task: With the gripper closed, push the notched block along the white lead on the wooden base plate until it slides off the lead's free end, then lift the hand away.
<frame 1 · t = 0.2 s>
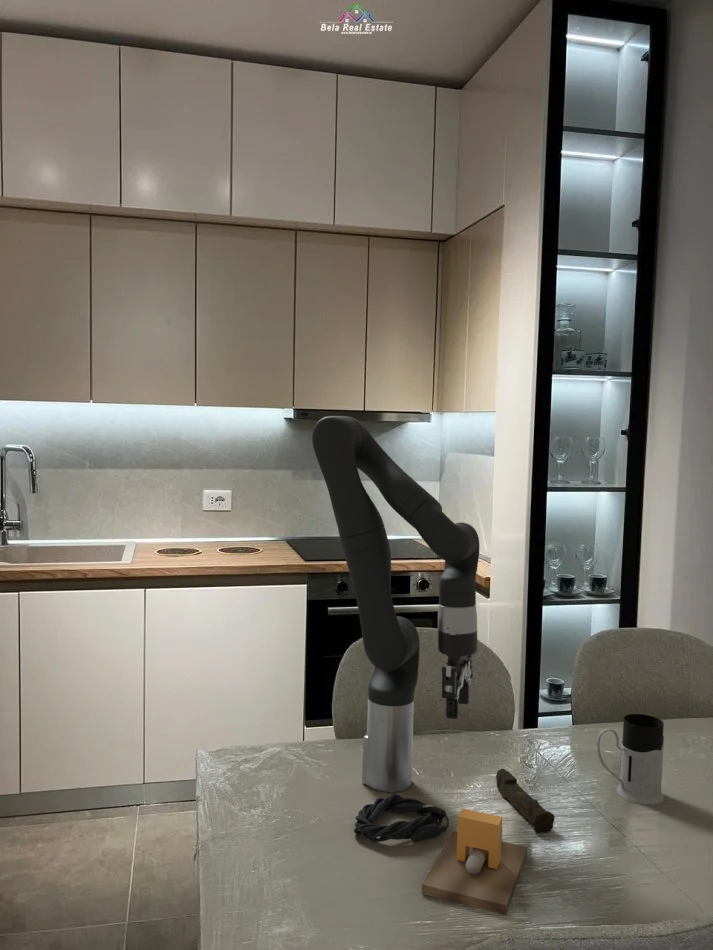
hand: (457, 710, 153), 17 cm above the table, tool pointing down, fingers open, 8 cm apart
cable: (395, 828, 143), on the table
glass holder: (627, 796, 157), on the table
wooden base plate: (476, 873, 128), on the table
notched block: (479, 838, 129), point 5 cm above the table, slide at 0.0 cm
dark brown tapered rod: (517, 811, 150), on the table
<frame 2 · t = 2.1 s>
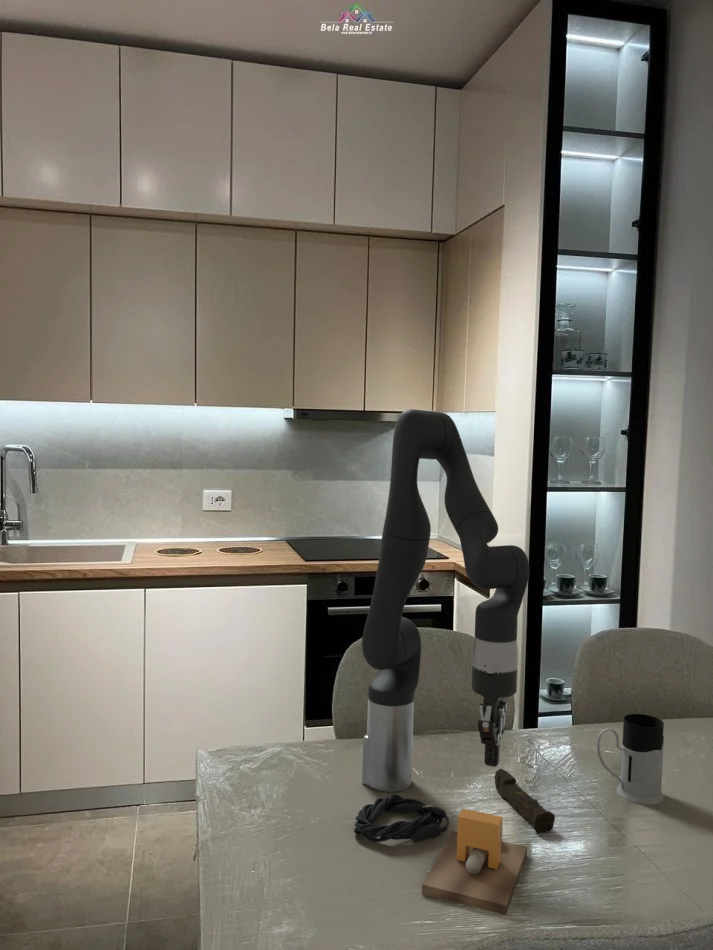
hand: (491, 764, 134), 15 cm above the table, tool pointing down, fingers closed
nothing on the table moved.
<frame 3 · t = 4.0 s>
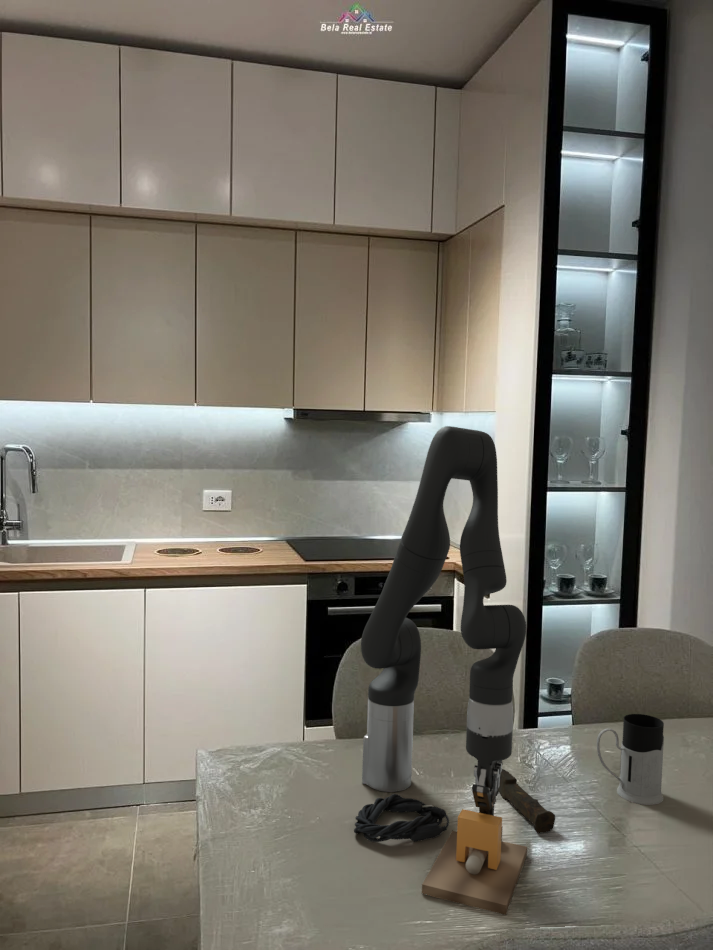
hand: (485, 826, 132), 6 cm above the table, tool pointing down, fingers closed
notched block: (479, 838, 128), point 5 cm above the table, slide at 0.2 cm, touching gripper
everything else where it was.
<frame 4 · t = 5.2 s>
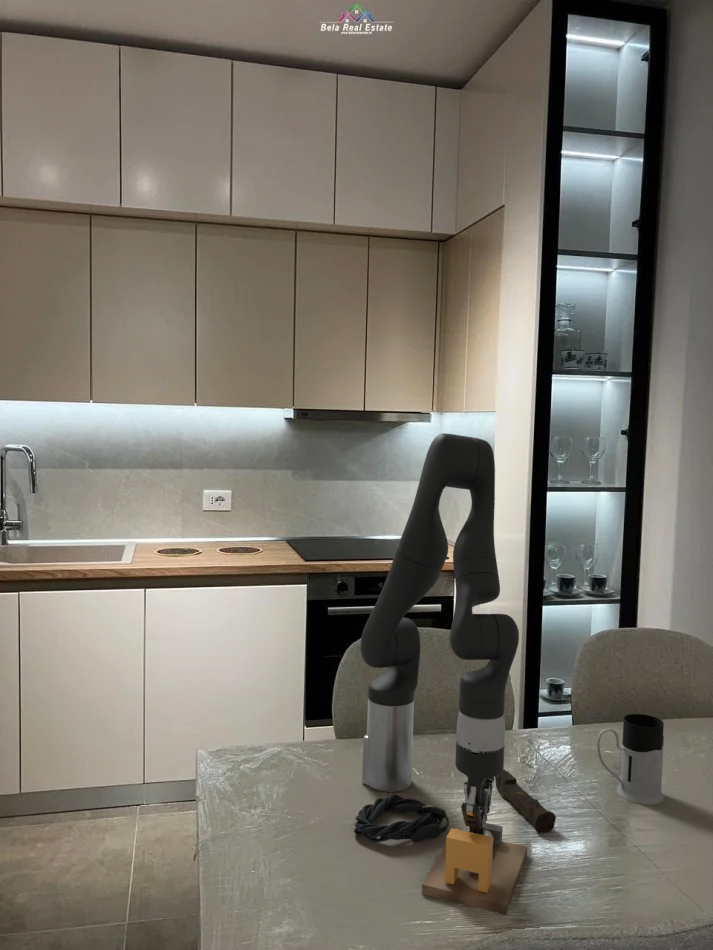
hand: (476, 846, 126), 6 cm above the table, tool pointing down, fingers closed
notched block: (469, 859, 122), point 5 cm above the table, slide at 7.1 cm, touching gripper
everything else where it was.
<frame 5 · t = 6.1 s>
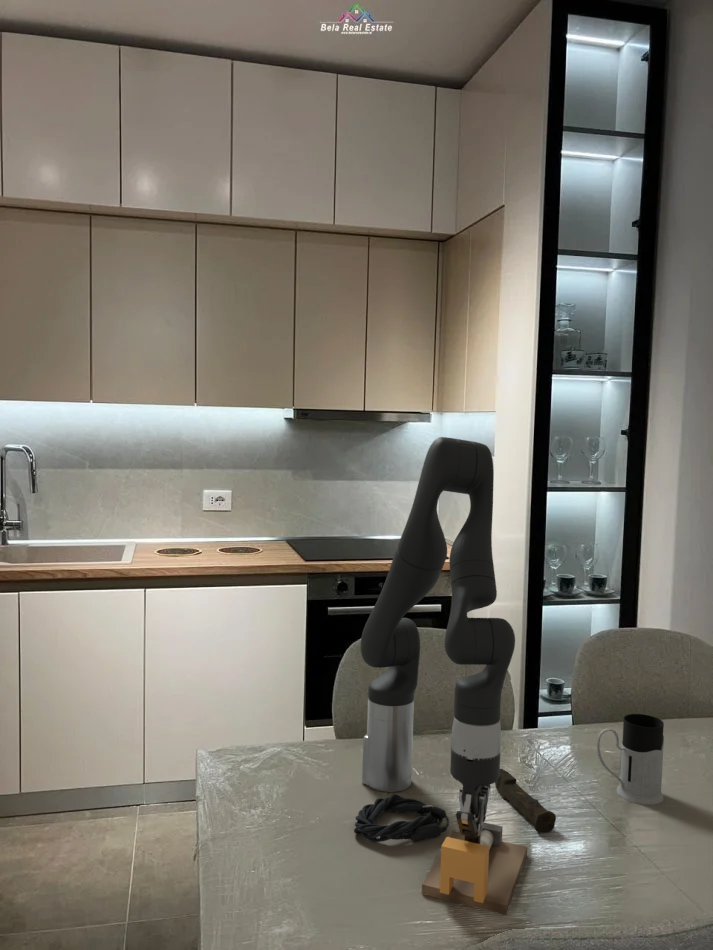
hand: (471, 855, 123), 6 cm above the table, tool pointing down, fingers closed
notched block: (464, 869, 119), point 5 cm above the table, slide at 9.9 cm, touching gripper
everything else where it was.
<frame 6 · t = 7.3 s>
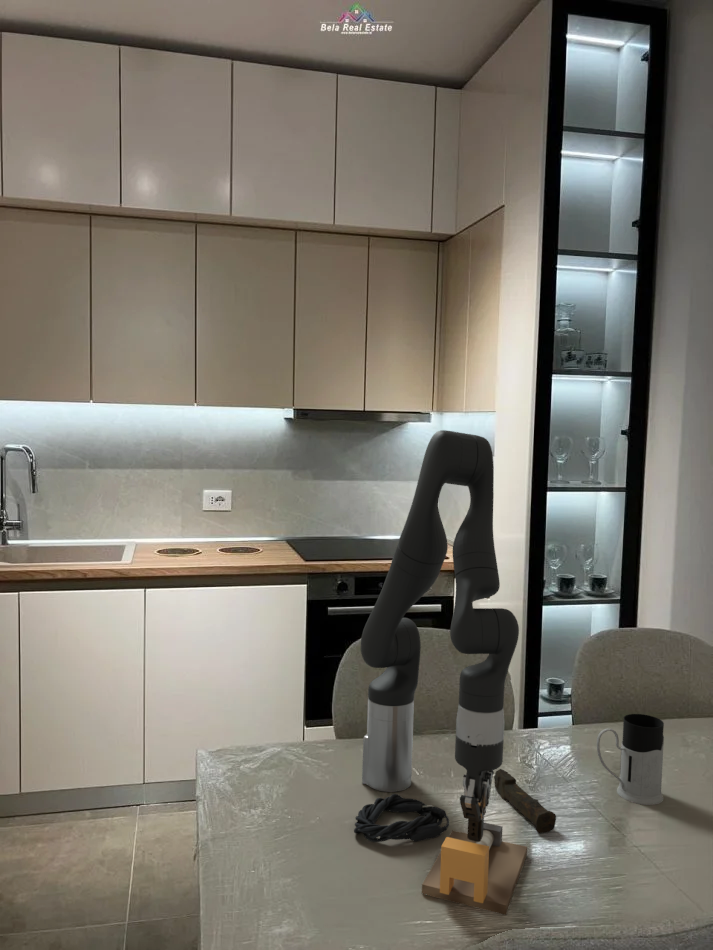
hand: (475, 838, 127), 6 cm above the table, tool pointing down, fingers closed
notched block: (464, 869, 119), point 5 cm above the table, slide at 9.9 cm
everything else where it was.
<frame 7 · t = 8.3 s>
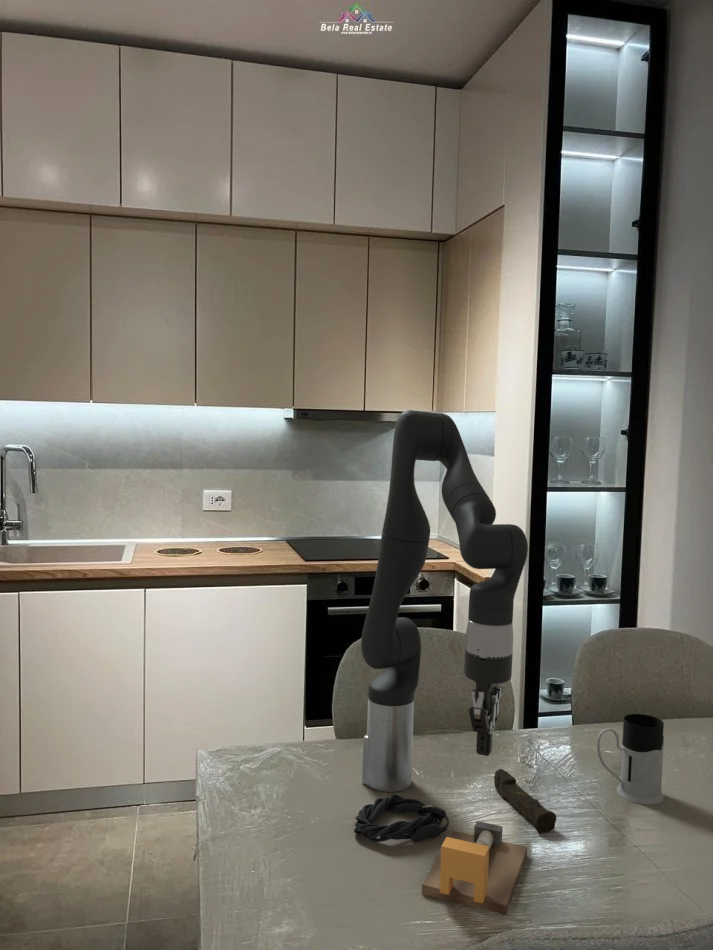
hand: (483, 753, 128), 19 cm above the table, tool pointing down, fingers closed
nothing on the table moved.
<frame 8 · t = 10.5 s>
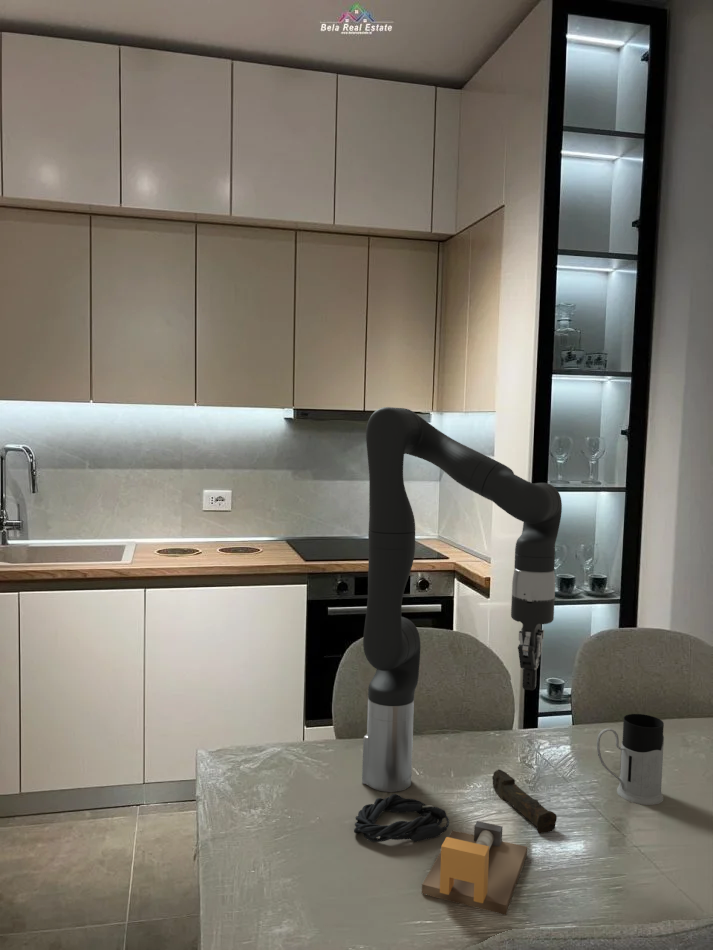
hand: (529, 688, 143), 25 cm above the table, tool pointing down, fingers closed
nothing on the table moved.
at the end: notched block slide at 9.9 cm; dark brown tapered rod moved 0.5 cm from its start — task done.
